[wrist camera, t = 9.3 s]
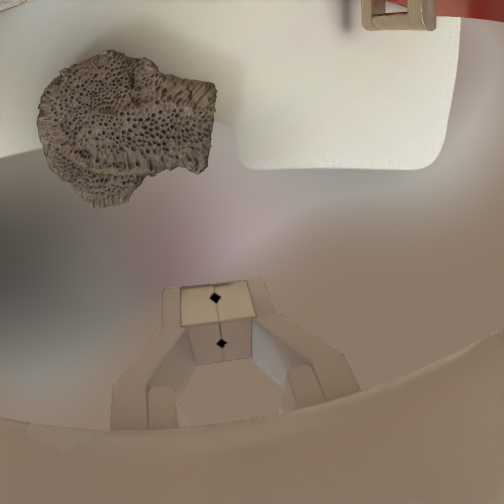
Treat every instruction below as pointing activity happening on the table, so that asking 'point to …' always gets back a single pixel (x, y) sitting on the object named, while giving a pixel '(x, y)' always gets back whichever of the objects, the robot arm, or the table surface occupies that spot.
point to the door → (427, 13)
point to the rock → (123, 125)
